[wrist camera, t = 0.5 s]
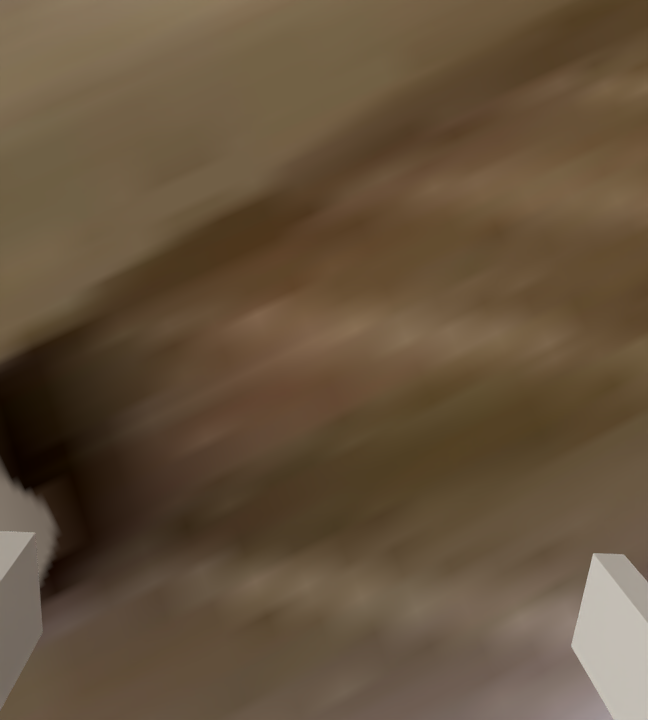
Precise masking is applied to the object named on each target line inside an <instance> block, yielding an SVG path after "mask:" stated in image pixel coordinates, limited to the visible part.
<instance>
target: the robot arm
mask: <svg viewBox="0 0 648 720" xmlns="http://www.w3.org/2000/svg"><path fill="white" fill-rule="evenodd" d="M42 632H43V630H42V617H41V603H40V590H39V576H38V563H37V549H36V536H35V533H34V532H7V531H0V710H1V708H2V706H3V704H4V703H5V701H6V699H7V697H8V695H9V693H10V691H11V690H12V688H13V686H14V684H15V682H16V680H17V679H18V677H19V675H20V673H21V671H22V669H23V668H24V666H25V664H26V662H27V660H28V658H29V656H30V655H31V653H32V651H33V649H34V647H35V645H36V644H37V642H38V640H39V638H40V636H41V634H42ZM571 647H572V649H573V650H574V652H575V654H576V655H577V657H578V659H579V661H580V662H581V664H582V666H583V667H584V669H585V671H586V673H587V674H588V676H589V678H590V679H591V681H592V683H593V685H594V686H595V688H596V690H597V691H598V693H599V695H600V697H601V698H602V700H603V702H604V703H605V705H606V707H607V709H608V710H609V712H610V714H611V715H612V717H613V719H614V720H648V582H647V581H646V580H645V579H644V577H643V576H642V575H641V574H640V573H639V572H638V570H637V569H636V568H635V567H634V566H633V565H632V563H631V562H630V561H629V560H628V559H627V558H626V556H625V555H624V554H599V553H593V557H592V561H591V565H590V569H589V573H588V578H587V582H586V586H585V590H584V594H583V599H582V603H581V607H580V611H579V615H578V619H577V624H576V628H575V632H574V636H573V640H572V645H571Z"/></svg>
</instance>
